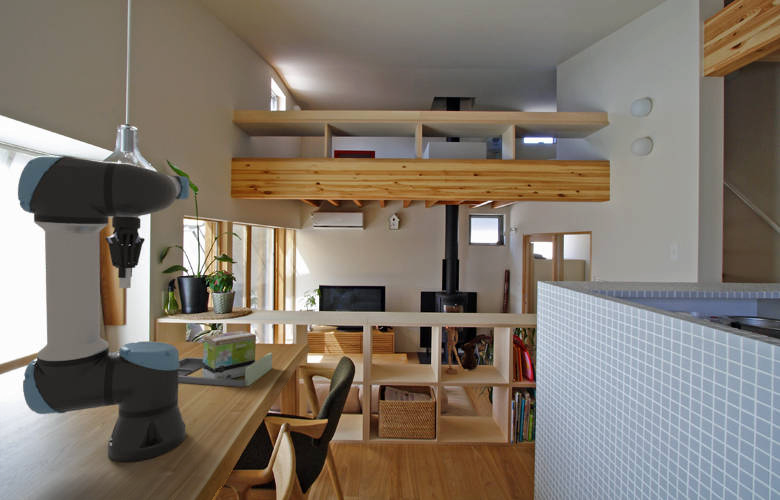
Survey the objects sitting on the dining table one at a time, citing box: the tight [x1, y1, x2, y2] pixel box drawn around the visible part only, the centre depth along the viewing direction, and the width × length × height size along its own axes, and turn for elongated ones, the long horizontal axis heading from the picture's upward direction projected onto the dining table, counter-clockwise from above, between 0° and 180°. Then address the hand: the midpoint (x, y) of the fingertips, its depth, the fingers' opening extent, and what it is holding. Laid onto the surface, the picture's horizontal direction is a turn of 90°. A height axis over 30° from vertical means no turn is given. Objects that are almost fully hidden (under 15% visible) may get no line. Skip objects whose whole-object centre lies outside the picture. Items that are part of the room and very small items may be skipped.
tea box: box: [201, 330, 257, 379], centre depth 129 cm, size 15×10×15 cm
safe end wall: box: [244, 352, 273, 387], centre depth 129 cm, size 18×1×6 cm, turn 174°
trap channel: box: [178, 356, 257, 388], centre depth 131 cm, size 20×35×2 cm, turn 84°
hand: (124, 287), depth 117 cm, fingers closed
